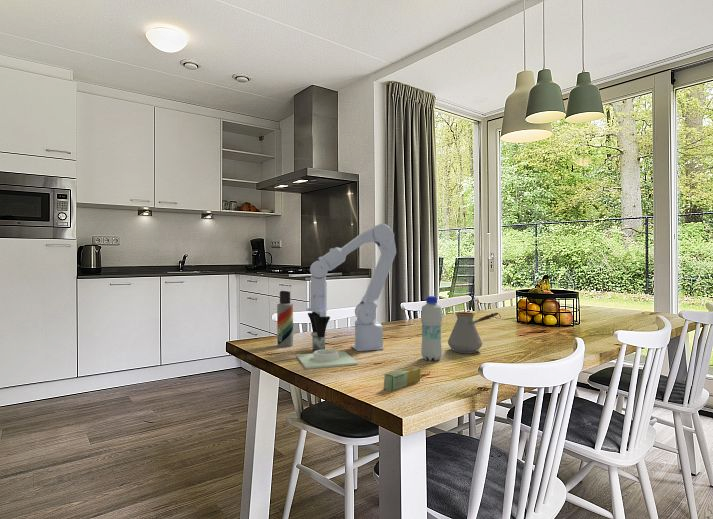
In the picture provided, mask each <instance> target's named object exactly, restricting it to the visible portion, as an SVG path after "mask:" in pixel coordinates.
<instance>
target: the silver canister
mask: <svg viewBox="0 0 713 519" xmlns="http://www.w3.org/2000/svg"><path fill="white" fill-rule="evenodd" d="M310 335H311V336H312V339H311V341H312V342H311V343H312V349H311V350H312V351H313V352H315V351H317V350H324V349H326V336H327V332H326V331H325V335H324V337H318V336H317V332H313V331H312V332H311V333H310Z"/></svg>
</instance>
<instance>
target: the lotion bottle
mask: <svg viewBox="0 0 713 519" xmlns="http://www.w3.org/2000/svg"><path fill="white" fill-rule="evenodd" d="M276 308H277V309H276V319H277V322H276V323H277V324H276V325H277V326H276V327H277V328H276V330H277V331H276V332H277V339H276V340H277V341H276V342H277V346H278V347H281V348H287V347H288V348H289V347H292V346H293V345H294V304H293V303H291V291H288V290H287V291H286V290H280V291H279V303H277V305H276Z"/></svg>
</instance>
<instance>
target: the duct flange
mask: <svg viewBox="0 0 713 519" xmlns="http://www.w3.org/2000/svg"><path fill="white" fill-rule="evenodd" d="M295 355H296V358H297V360H298V361H299V362H300V363H301V365H302V366H303V368H304V369H305V370H311V369H313V370H314V369H321V368H334V367H336V368H337V367H342V366H343V367H346V366H357V365H359V361H357V360H355V358H353V357H352V356H350V355H349V353H347V352H346V351H344V350H343V351H341V350H340V351H339V350H337V349H336V350H335V349H330V348H329V349H326V348H325V349H324V350H317V351H313V352H312V353H302V354H295Z"/></svg>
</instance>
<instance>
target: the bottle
mask: <svg viewBox="0 0 713 519" xmlns="http://www.w3.org/2000/svg"><path fill="white" fill-rule="evenodd" d="M425 301H426V302H425V303H426V304H423V305H422V306H421V310H420V311H421V312H420V320H421V358H423V359H424V360H425V361H427V360H428V361H429V362H431V361H432V360H434V361H435V362H436V361H439V360H440V359H441V358H442V355H443V354H442V353H443V351H442V348H443V347H442V322H443V320H442V319H443V312H442V307H441V306H440V305H438V297H436V296H434V295H431V296H426V300H425Z"/></svg>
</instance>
